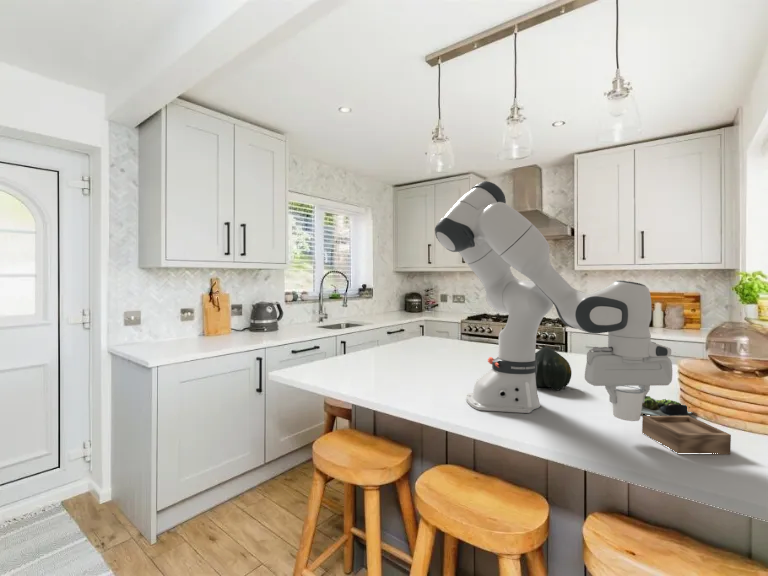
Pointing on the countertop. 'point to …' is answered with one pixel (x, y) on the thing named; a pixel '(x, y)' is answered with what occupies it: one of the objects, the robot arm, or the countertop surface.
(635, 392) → the shot glass
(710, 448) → the walnut stand
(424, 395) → the countertop surface
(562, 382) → the squash
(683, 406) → the salad plate
